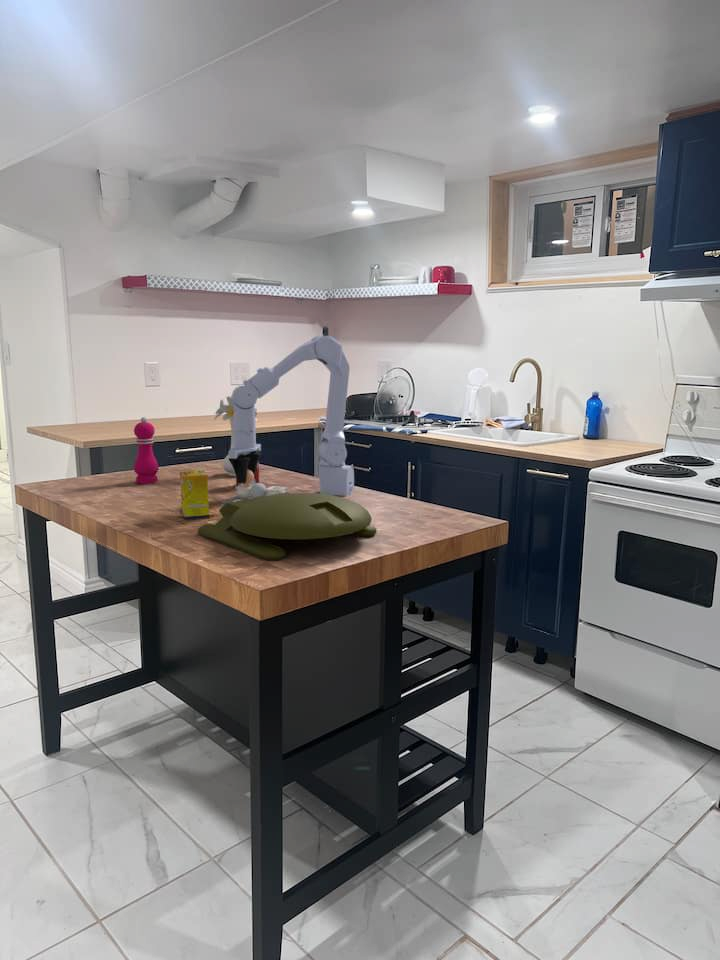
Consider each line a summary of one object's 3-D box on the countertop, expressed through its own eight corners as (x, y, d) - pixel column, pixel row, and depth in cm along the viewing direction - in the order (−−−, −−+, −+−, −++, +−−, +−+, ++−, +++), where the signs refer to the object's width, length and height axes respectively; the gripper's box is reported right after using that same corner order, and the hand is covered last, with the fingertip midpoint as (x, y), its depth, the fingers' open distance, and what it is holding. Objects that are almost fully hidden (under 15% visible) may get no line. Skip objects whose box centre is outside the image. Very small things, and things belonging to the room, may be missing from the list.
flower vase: (236, 481, 216) (233, 400, 212) (207, 473, 230) (204, 396, 226) (271, 476, 225) (270, 398, 220) (242, 468, 239) (240, 394, 234)
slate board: (296, 499, 192) (296, 494, 191) (274, 511, 179) (274, 505, 178) (244, 495, 197) (244, 489, 196) (219, 506, 184) (218, 500, 184)
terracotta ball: (257, 484, 191) (256, 468, 190) (249, 487, 187) (249, 470, 186) (242, 483, 192) (242, 467, 192) (234, 485, 188) (234, 469, 188)
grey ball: (269, 498, 189) (269, 482, 188) (262, 501, 185) (262, 485, 184) (255, 497, 190) (254, 481, 189) (247, 500, 186) (247, 484, 185)
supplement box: (181, 514, 175) (179, 471, 173) (205, 512, 177) (204, 470, 175) (184, 520, 169) (182, 475, 167) (209, 518, 171) (207, 474, 169)
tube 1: (258, 495, 192) (258, 484, 191) (250, 499, 187) (249, 488, 187) (242, 494, 193) (242, 483, 193) (234, 498, 189) (233, 486, 188)
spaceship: (193, 535, 158) (191, 493, 156) (300, 513, 178) (300, 475, 177) (288, 572, 133) (287, 522, 131) (400, 541, 153) (401, 498, 152)
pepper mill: (133, 481, 216) (129, 416, 213) (157, 479, 219) (154, 415, 216) (136, 485, 210) (132, 418, 206) (161, 483, 213) (157, 417, 209)
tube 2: (288, 498, 189) (288, 487, 188) (280, 502, 185) (280, 490, 184) (272, 497, 191) (272, 485, 190) (264, 500, 186) (264, 489, 185)
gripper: (244, 427, 195) (245, 475, 198) (217, 433, 181) (219, 484, 184) (267, 428, 193) (268, 477, 195) (241, 434, 179) (243, 486, 182)
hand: (246, 481), depth 190 cm, fingers closed on terracotta ball, 4 cm apart
